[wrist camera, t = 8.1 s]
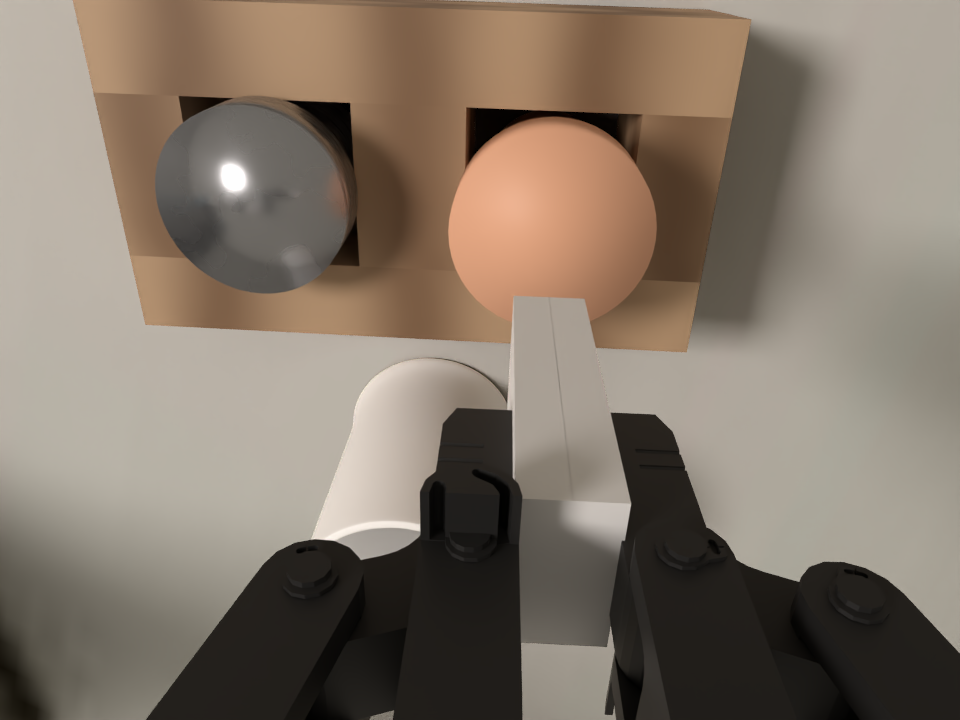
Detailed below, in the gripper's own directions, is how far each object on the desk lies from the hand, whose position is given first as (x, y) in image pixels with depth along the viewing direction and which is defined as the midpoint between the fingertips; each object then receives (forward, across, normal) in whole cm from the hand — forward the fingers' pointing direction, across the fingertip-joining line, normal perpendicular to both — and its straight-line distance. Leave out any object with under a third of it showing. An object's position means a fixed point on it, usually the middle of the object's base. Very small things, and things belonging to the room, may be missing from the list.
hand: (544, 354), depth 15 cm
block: (+18, -4, 0) cm, 18 cm away
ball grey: (+17, -9, 0) cm, 20 cm away
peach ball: (+16, +1, 0) cm, 16 cm away
